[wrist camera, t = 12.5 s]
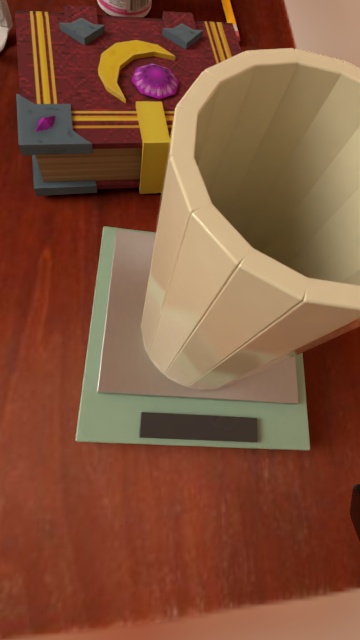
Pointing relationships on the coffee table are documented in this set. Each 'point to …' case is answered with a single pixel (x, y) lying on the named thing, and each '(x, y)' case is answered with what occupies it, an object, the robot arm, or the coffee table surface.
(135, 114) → the decorative book
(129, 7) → the pill bottle
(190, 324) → the cup
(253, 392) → the scale
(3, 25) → the smartwatch
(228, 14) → the pencil
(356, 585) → the coffee table surface
